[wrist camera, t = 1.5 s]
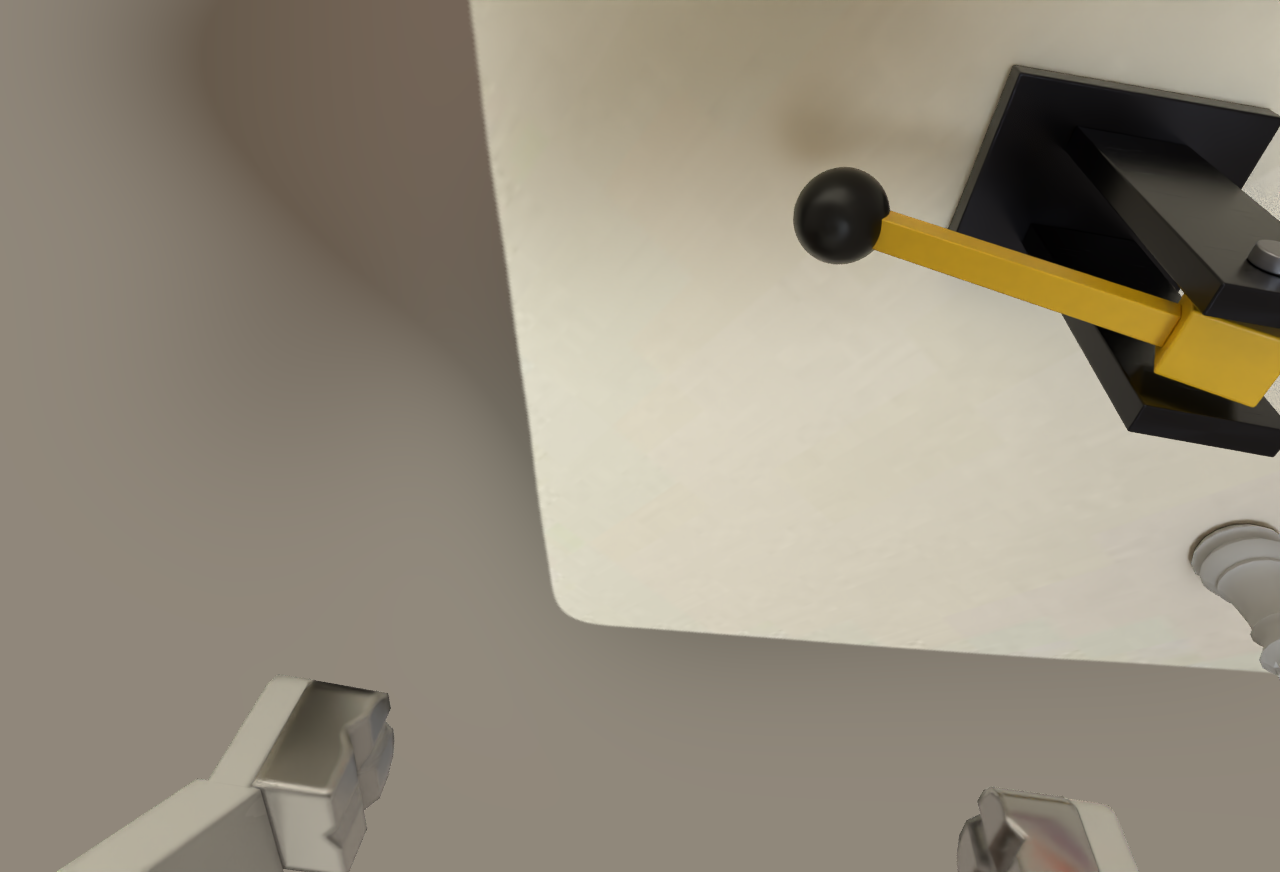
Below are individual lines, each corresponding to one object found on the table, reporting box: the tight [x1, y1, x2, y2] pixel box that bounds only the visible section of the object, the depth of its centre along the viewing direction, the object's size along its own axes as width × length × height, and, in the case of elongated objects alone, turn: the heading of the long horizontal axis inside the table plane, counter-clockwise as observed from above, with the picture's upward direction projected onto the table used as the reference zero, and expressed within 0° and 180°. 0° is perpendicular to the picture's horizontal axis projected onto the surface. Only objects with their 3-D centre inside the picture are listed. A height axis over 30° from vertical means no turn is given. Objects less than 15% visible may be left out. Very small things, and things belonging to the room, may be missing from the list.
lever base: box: [949, 65, 1280, 457], centre depth 28 cm, size 10×8×14 cm
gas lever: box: [793, 167, 1280, 407], centre depth 26 cm, size 15×3×3 cm, turn 83°
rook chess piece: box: [1191, 524, 1280, 679], centre depth 42 cm, size 4×4×8 cm
